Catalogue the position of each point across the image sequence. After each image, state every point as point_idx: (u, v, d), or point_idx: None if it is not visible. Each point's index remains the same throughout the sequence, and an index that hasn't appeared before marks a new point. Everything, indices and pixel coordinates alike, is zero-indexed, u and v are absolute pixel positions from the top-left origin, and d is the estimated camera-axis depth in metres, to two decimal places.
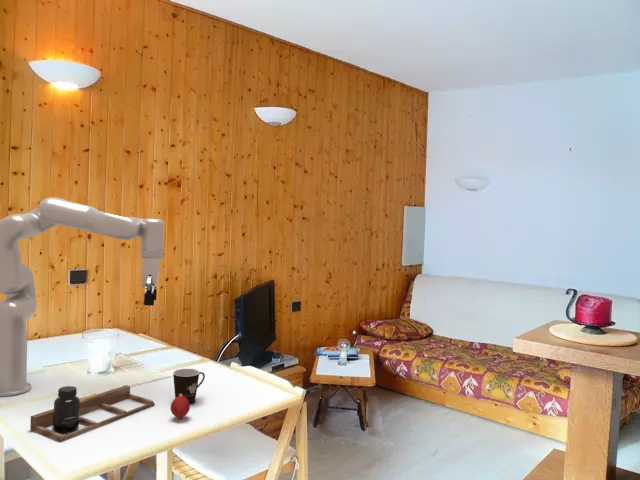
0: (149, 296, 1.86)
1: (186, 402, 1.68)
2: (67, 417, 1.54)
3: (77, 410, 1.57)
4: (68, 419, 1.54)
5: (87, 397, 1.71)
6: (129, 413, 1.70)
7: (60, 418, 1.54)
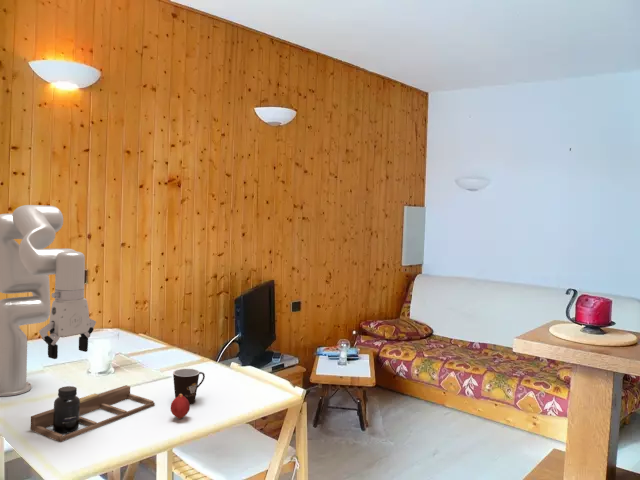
0: None
1: (186, 402, 1.68)
2: (67, 417, 1.54)
3: (77, 410, 1.57)
4: (68, 419, 1.54)
5: (87, 397, 1.71)
6: (129, 413, 1.70)
7: (60, 418, 1.54)
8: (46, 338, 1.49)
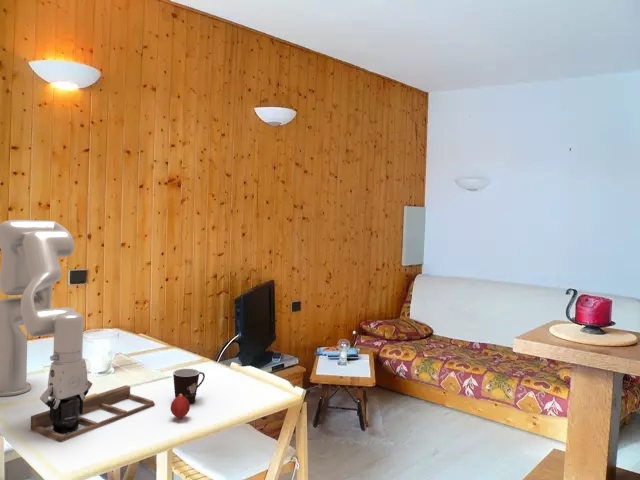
0: None
1: (186, 402, 1.68)
2: (67, 417, 1.54)
3: (77, 410, 1.57)
4: (68, 419, 1.54)
5: (87, 397, 1.71)
6: (129, 413, 1.70)
7: (60, 418, 1.54)
8: (48, 403, 1.51)
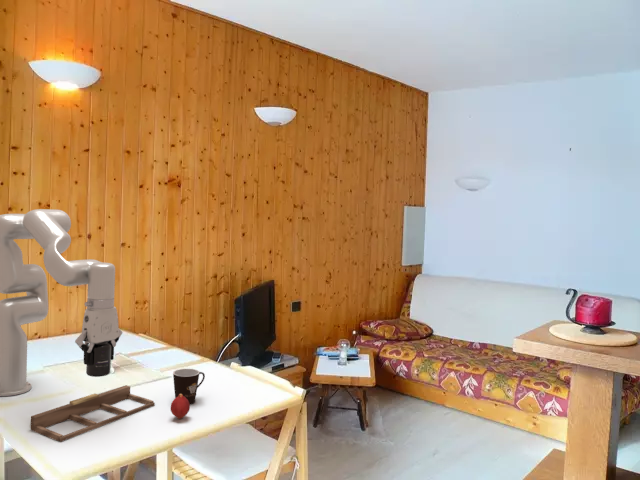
0: None
1: (186, 402, 1.68)
2: (100, 360, 1.63)
3: (109, 355, 1.65)
4: (100, 363, 1.63)
5: (87, 397, 1.71)
6: (129, 413, 1.70)
7: (93, 362, 1.62)
8: (83, 346, 1.60)
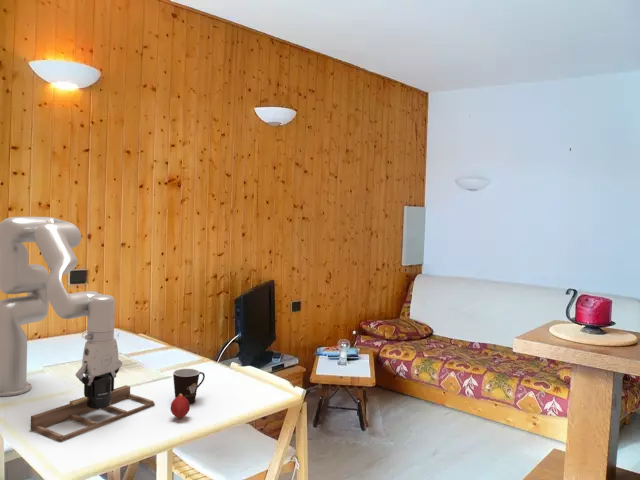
0: None
1: (186, 402, 1.68)
2: (100, 393, 1.63)
3: (109, 387, 1.66)
4: (101, 395, 1.64)
5: None
6: (129, 413, 1.70)
7: (94, 394, 1.63)
8: (83, 379, 1.60)
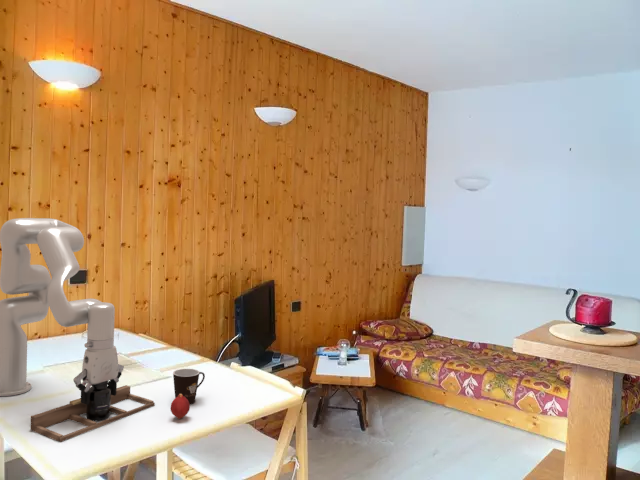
0: None
1: (186, 402, 1.68)
2: (100, 405, 1.64)
3: (109, 399, 1.66)
4: (100, 407, 1.64)
5: None
6: (129, 413, 1.70)
7: (93, 406, 1.64)
8: (79, 386, 1.59)
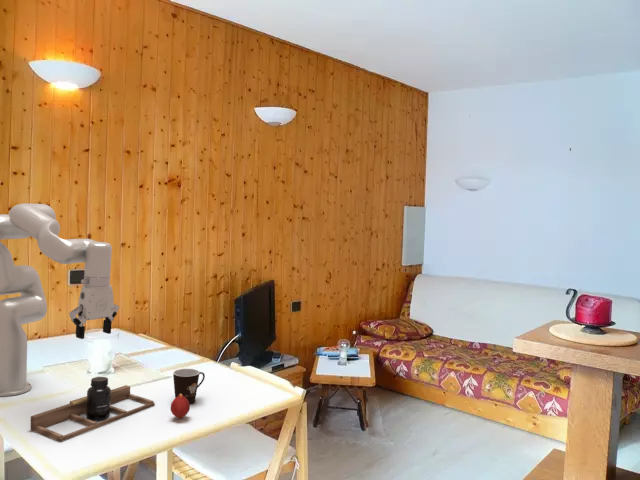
0: None
1: (186, 402, 1.68)
2: (99, 405, 1.64)
3: (109, 399, 1.66)
4: (100, 407, 1.64)
5: None
6: (129, 413, 1.70)
7: (93, 406, 1.64)
8: (75, 320, 1.64)
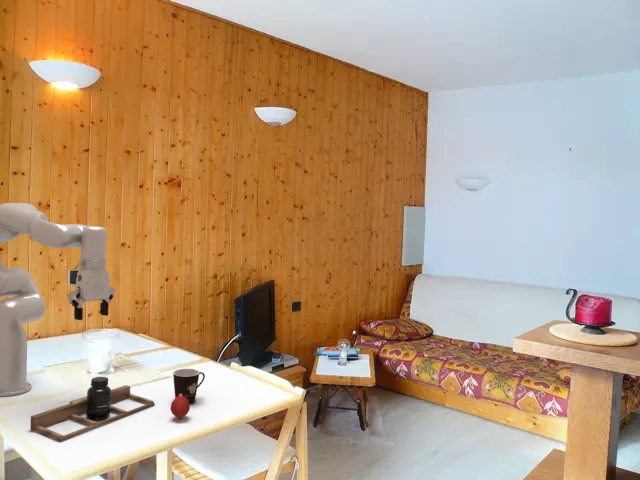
0: None
1: (186, 402, 1.68)
2: (100, 405, 1.64)
3: (109, 399, 1.66)
4: (100, 407, 1.64)
5: None
6: (129, 413, 1.70)
7: (93, 406, 1.64)
8: (73, 301, 1.69)
